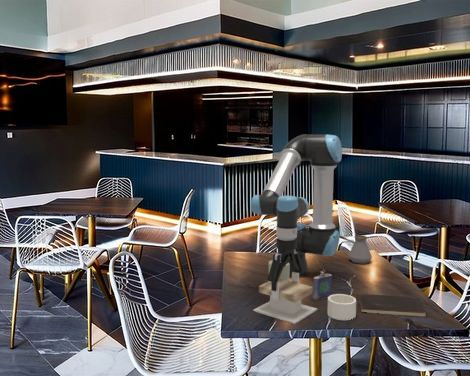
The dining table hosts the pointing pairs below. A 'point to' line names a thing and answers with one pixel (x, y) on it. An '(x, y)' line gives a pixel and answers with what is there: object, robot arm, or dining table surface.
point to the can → (283, 271)
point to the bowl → (341, 307)
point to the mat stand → (285, 310)
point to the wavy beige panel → (288, 290)
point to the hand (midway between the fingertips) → (285, 293)
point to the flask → (322, 286)
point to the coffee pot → (359, 250)
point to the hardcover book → (391, 305)
